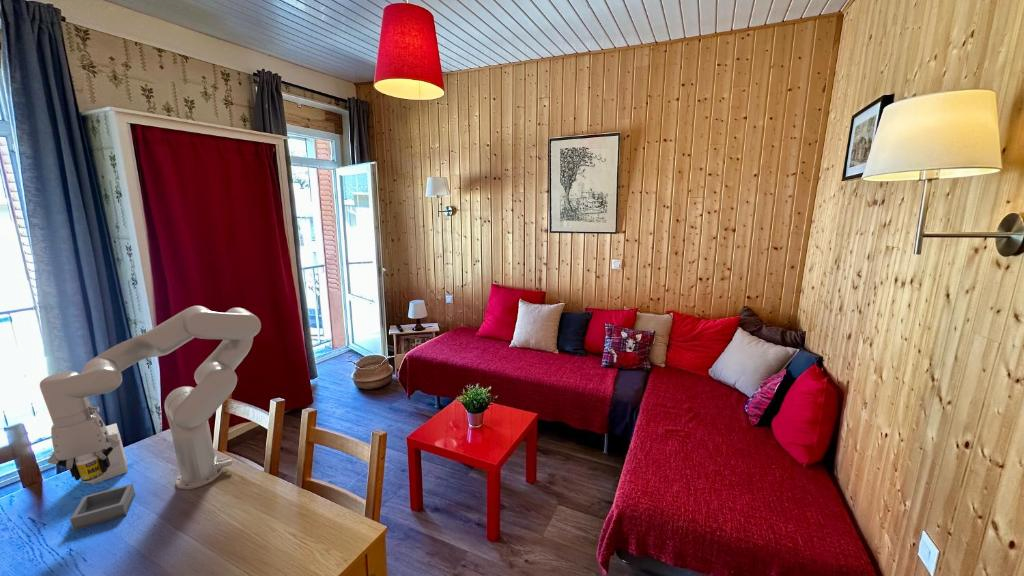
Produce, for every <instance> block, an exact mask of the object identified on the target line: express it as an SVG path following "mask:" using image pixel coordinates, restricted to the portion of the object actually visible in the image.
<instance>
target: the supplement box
mask: <svg viewBox="0 0 1024 576" xmlns="http://www.w3.org/2000/svg"><path fill="white" fill-rule="evenodd" d="M105 426H106V428H107V431H108V433H109V435H110V436H112V437H114V438H116V439H118V440H120V443H119V445H117V446H116V447H115V448H114V449H113V450H112V451H111V452H110V454H109V455H108V458H109V461H110V467H108V469H107V471H106V472H105V474H104V475H103V476H102V477H101V478H99V479H97V480H95V481H92V482H89V483H90V485H95V484H98V483H100V482H103V481H106V480H109V479H111V478H114V477H115V478H116V477H117V476H121V475H123V474H126V473H128V461H127V460H128V459H127V456H126V452H125V449H124V446H123V442H122V439H121V438H122V437H121V434H120V431H119V428H118V425H117V423H116V422H115V423H112V424H109V425H105ZM110 445H111V444H110V443H108V442H107V447H106V449H107V448H108V446H110Z"/></svg>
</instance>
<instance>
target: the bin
mask: <svg viewBox="0 0 1024 576" xmlns="http://www.w3.org/2000/svg"><path fill="white" fill-rule="evenodd" d="M135 497H136V492H135V488H134V485H133V483H129V484H125V485H121V486H117V487H114V488H111V489H106V490H102V491H99V492H96V493H92V494H91V493H90V494H88V495H84V496H82V499H81V501H80V502H79V504H78V505H77V506H76V509H75V510H74V512H73V514H72V515H71V517H69V518H70V519H69V520H70V523H71V527H72V528H73V532H75V531H76V532H77V531H79V530H82V529H86V528H89V527H92V526H97V525H99V524H103V523H106V522H109V521H114V520H117V519H120V518H124V517H126V516H127V514H128V512H129V510H130V507H131V505H132V503H133V501H134V498H135Z"/></svg>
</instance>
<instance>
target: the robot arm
mask: <svg viewBox="0 0 1024 576" xmlns="http://www.w3.org/2000/svg"><path fill="white" fill-rule="evenodd" d="M261 328H262V322H261V320H260V318H259V317H258V316H257V315H255V314H254V313H252V312H250V311H249V310H247V309H246V308H242V307H232V308H229V309H228V310H226V312H218V311H212V310H210V309H209V308H207V307H205V306H202V305H193V306H190V307H187V308H185V309H184V310H181V311H180V312H178V313H176V314H175V315H173V316H172V317H170V318H168V319H167V320H165V321H163V322H161V323H160V324H158V325H156V326H155V327H153V328H151V329H149V330H148V331H146V332H144V333H142V334H139V335H136V336H134V337H132V338H129V339H127V340H124V341H122V342H120V343H117V344H116V345H114V346H112V347H110V348H109V349H107V350H105V351H103V352H101V353H100V354H98V355H97V356H95V357H93V358H92V359H90V360H89V361H88V362H87V363H86V364H85V365H84V366H83V368H82V369H81V373H80V372H77V371H72V370H70V371H62V372H57V373H55V374H51V375H49V376H46V377H45V378H43V379H42V380H41V381H40V382H39V389H40V391H41V394H42V398H43V400H44V403H45V405H46V408H47V410H48V414H49V417H50V418H51V422H52V426H51V430H50V434H51V441H52V447H53V452H52V453H51V455H50V457H49V458H48V460H47V462H46V463H47V464H52V465H57V466H59V467H60V466H61V467H64V468H66V469H67V470H69V472H70V474H71V477H72V478H74V479H75V481H80V480H81V477H80V475H79V472H78V469H77V466H76V461H77V459H76V457H79V456H82V455H86V454H90V453H94V452H95V453H96V454H97V455H98V456H99V458H100V460H99V464H100V467H101V470H102V472H103V473H104V472H106V471H107V469H108V467H110V461H109V458H108V455H109V454H110V452H111V451H112V450H113V449H114V448H115V447H116V446H117V445H119V443H120V440H118V439H116V438H114V437H112V436H110V435H109V433H108V431H107V428H106V426H107V425H106V424H105V422H104V421H103V419H102V417H101V415H99V414H98V412H100V407H99V406H93V405H92V404H91V403H90V400H89V397H92V396H98V395H104V394H108V393H111V392H113V391H115V390H116V389H118V388H119V387H120V386H121V384H122V382H123V374H122V372H123V371H125V370H126V369H128V368H130V367H131V366H133V365H134V364H137V363H139V362H140V361H144V360H146V359H151V358H155V357H156V358H157V357H162V356H167V355H169V354H170V353H172V352H174V351H175V350H177V349H179V348H180V347H181V346H183V345H184V344H186V343H188V342H190V341H192V340H194V338H196V339H201V340H202V339H204V340H222V341H221V342H220V343H219V345H218V346H217V347H216V349H214V350H213V352H212V353H211V354H210V355H208V357H207V358H205V360H204V361H203V362H202V363H201V364H200V365H199V366H198V367H197V368H196V370H195V371H194V373H193V374H194V375H193V376H194V377H193V379H194V380H195V383H196V384H197V385H196V386H195V387H193V386H188V385H187V386H185V385H184V386H180V387H177V388H174V389H173V390H172V391H170V393H169V394H168V395H167V396H166V398H165V400H164V411H165V415H166V418H167V422H168V426H169V430H170V433H171V437H172V442H173V443H172V444H173V447H174V452H175V456H176V460H177V465H178V469H179V475H177V477H176V478H175V486H176V487H177V488H178V489H180V490H193V489H197V488H199V487H200V488H201V487H203V486H206V485H208V484H210V483H212V482H213V481H215V480H216V479H218V478H219V477H220V476H221V474H222V473H223V471H224V468H225V467H226V468H227V467H231V466H233V459H229V458H230V457H229V456H228V457H224V458H219V456H218V454H217V455H216V454H215V450H214V445H213V440H212V434H211V429H210V424H209V419H210V418H211V417H213V414H215V413H216V412H217V411H218V409H219V408H220V407H221V405H222V404H224V402H225V401H226V400H227V399H228V398H229V396H230V395H232V393H233V391H234V390H235V388H236V386H237V382H238V376H237V374H236V372H235V370H236V369H237V367H238V366H239V365H240V364H241V363H242V362H243V361H244V359H245V358H246V356H248V353H249V352H250V350H251V348H252V346H253V342H254V337H256V336H257V335H258V334H259V333H260V331H261ZM107 442H108V443H110V444H111V445H110V446H108V448H107V449H106V447H107Z"/></svg>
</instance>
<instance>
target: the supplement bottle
mask: <svg viewBox="0 0 1024 576" xmlns="http://www.w3.org/2000/svg"><path fill="white" fill-rule="evenodd" d="M99 460H100V458H99V456H98V455H97V454H96V453H95V452H94V453H90V454H86V455H82V456H79V457H76V466H77V469H78V472H79V475H80V477H81V478H80V480H81V482H82V483H85V484H86V483H90V482H92V481H95V480H97V479H99V478H101V477H102V476H103V475H104V474H105V472H104V473H103V472H102V470H101V467H100V464H99Z"/></svg>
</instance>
